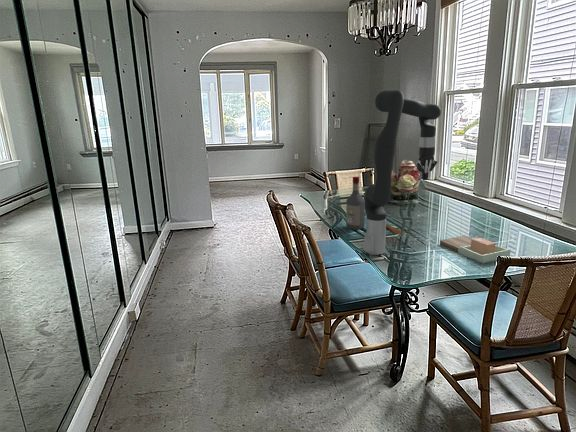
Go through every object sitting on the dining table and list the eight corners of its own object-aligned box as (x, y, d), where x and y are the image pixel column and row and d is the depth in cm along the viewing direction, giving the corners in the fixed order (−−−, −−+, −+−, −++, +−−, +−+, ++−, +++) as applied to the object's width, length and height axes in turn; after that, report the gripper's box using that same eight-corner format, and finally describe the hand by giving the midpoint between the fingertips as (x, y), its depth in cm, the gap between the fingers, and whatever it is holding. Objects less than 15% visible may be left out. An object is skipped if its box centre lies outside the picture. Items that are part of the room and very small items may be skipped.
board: (457, 252, 181) (458, 247, 181) (439, 244, 192) (440, 240, 191) (483, 247, 187) (483, 242, 186) (464, 240, 197) (464, 235, 197)
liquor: (357, 230, 218) (358, 179, 210) (344, 227, 224) (344, 177, 216) (366, 226, 224) (367, 176, 216) (353, 224, 230) (353, 175, 222)
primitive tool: (403, 233, 212) (404, 227, 211) (396, 235, 210) (396, 228, 209) (382, 224, 229) (382, 218, 228) (374, 226, 227) (374, 220, 226)
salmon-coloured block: (470, 250, 182) (485, 257, 173) (471, 238, 180) (487, 244, 172) (478, 249, 183) (494, 255, 175) (479, 237, 182) (495, 243, 174)
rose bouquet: (377, 198, 291) (378, 158, 283) (414, 195, 294) (416, 156, 286) (390, 206, 267) (392, 163, 258) (430, 203, 270) (433, 161, 261)
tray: (482, 263, 168) (483, 255, 167) (457, 252, 181) (458, 244, 180) (509, 257, 173) (510, 249, 172) (483, 247, 187) (484, 239, 185)
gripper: (421, 147, 186) (419, 182, 191) (443, 145, 190) (440, 179, 195) (411, 146, 192) (409, 180, 197) (432, 144, 197) (430, 177, 202)
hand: (424, 179), depth 196 cm, fingers closed
